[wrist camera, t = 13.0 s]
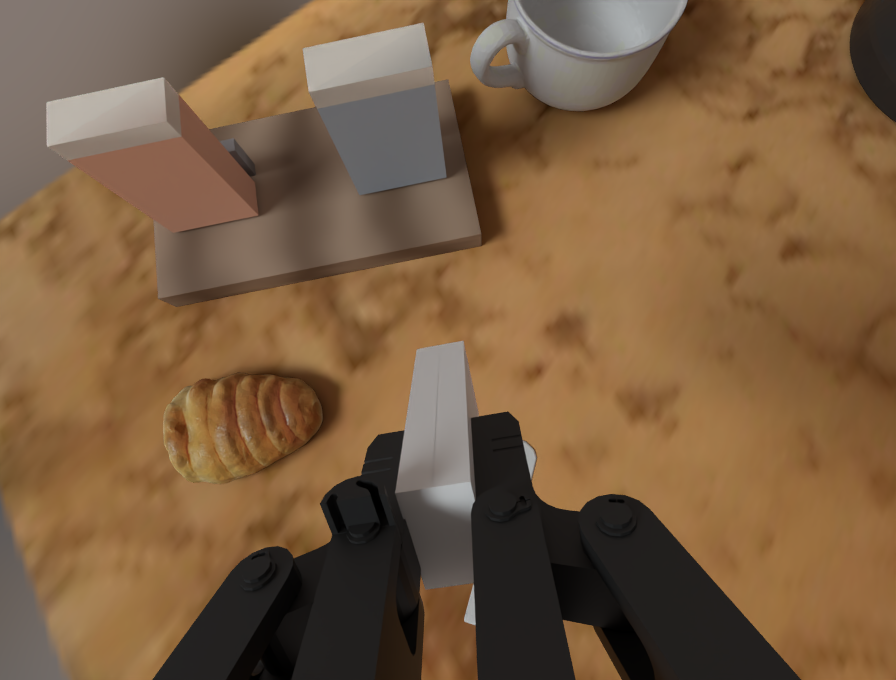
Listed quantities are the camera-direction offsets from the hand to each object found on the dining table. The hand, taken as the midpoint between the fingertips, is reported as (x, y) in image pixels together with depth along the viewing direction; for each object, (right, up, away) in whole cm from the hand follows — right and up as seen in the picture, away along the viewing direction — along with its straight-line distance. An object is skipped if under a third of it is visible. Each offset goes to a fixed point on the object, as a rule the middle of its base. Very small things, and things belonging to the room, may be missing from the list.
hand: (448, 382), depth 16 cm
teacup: (+8, +21, +21) cm, 31 cm away
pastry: (-14, -4, +18) cm, 23 cm away
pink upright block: (-16, +10, +18) cm, 26 cm away
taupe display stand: (-10, +12, +20) cm, 25 cm away
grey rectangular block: (-3, +13, +18) cm, 22 cm away
